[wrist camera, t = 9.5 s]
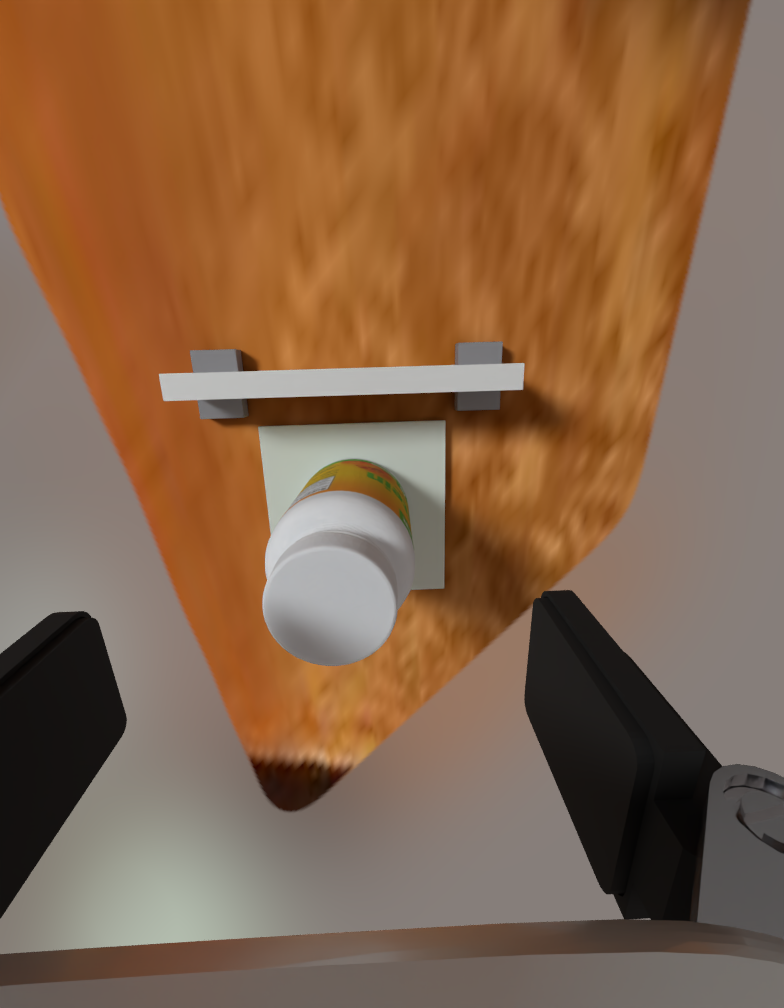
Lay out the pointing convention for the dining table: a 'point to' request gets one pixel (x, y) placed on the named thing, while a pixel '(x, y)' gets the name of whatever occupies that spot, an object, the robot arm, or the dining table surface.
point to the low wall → (342, 381)
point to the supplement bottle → (340, 564)
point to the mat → (393, 445)
